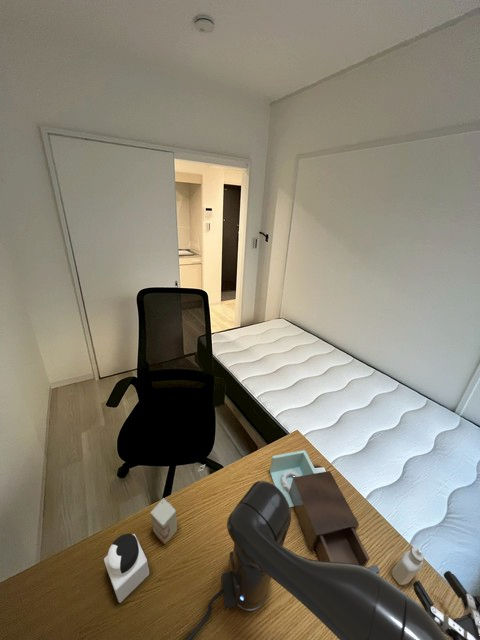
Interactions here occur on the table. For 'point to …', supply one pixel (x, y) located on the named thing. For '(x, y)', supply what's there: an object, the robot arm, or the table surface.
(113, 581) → the white block with dome
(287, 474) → the teal open bin
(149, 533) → the table surface
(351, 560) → the drawer
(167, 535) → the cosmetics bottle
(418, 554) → the eye dropper bottle
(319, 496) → the cabinet
